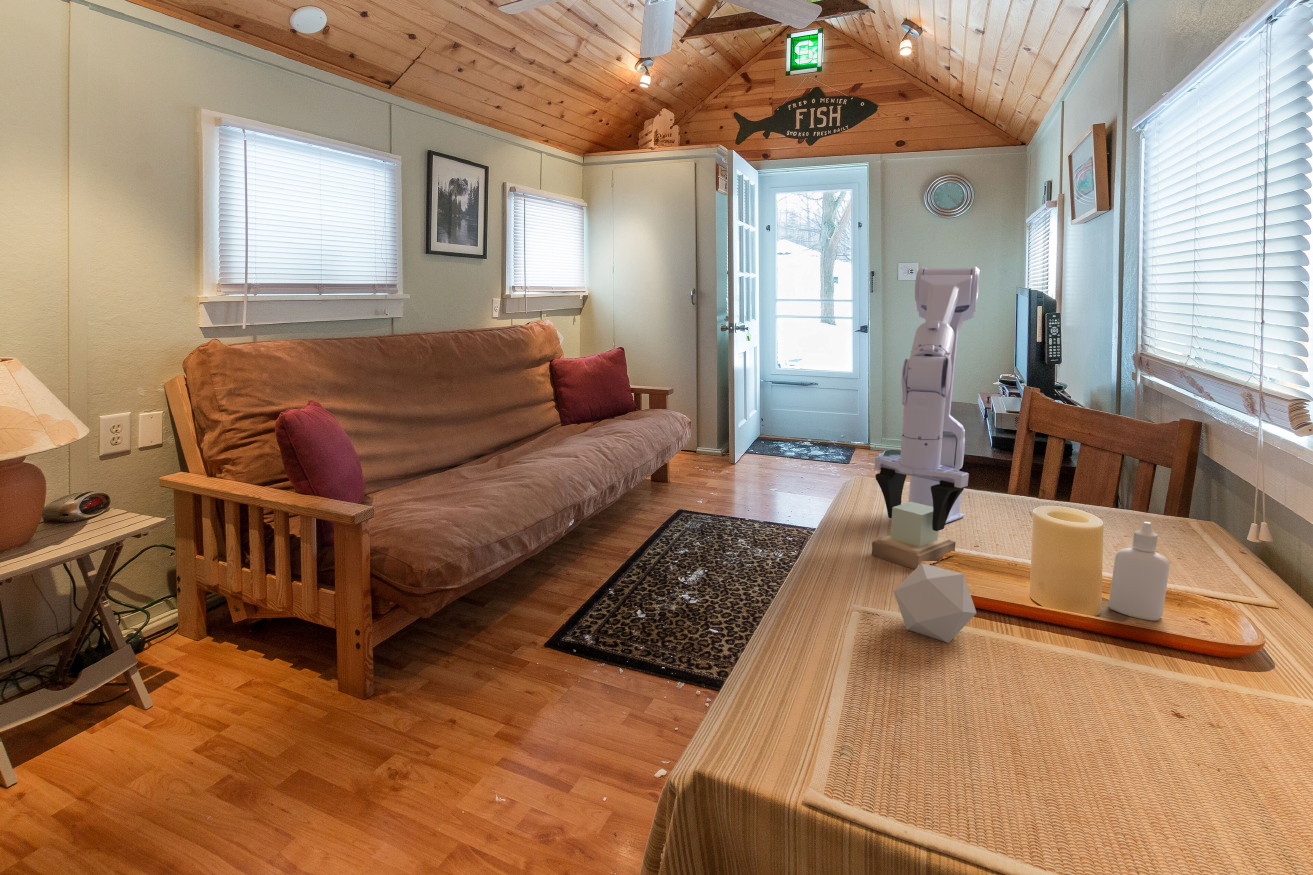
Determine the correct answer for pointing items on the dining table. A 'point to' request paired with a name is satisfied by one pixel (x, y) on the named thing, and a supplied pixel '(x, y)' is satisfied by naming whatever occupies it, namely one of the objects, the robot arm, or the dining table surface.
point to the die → (935, 602)
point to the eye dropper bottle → (1140, 578)
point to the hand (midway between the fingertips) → (915, 523)
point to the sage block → (913, 524)
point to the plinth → (911, 551)
